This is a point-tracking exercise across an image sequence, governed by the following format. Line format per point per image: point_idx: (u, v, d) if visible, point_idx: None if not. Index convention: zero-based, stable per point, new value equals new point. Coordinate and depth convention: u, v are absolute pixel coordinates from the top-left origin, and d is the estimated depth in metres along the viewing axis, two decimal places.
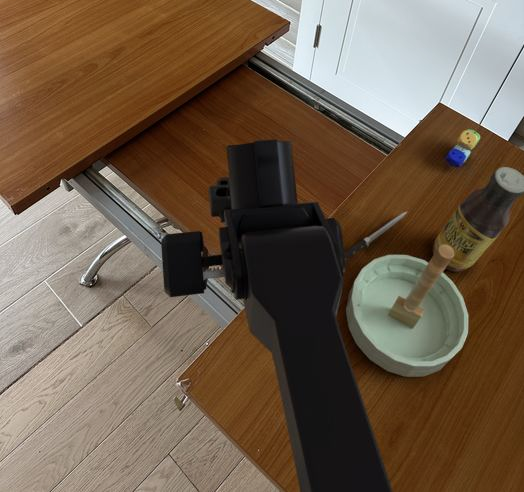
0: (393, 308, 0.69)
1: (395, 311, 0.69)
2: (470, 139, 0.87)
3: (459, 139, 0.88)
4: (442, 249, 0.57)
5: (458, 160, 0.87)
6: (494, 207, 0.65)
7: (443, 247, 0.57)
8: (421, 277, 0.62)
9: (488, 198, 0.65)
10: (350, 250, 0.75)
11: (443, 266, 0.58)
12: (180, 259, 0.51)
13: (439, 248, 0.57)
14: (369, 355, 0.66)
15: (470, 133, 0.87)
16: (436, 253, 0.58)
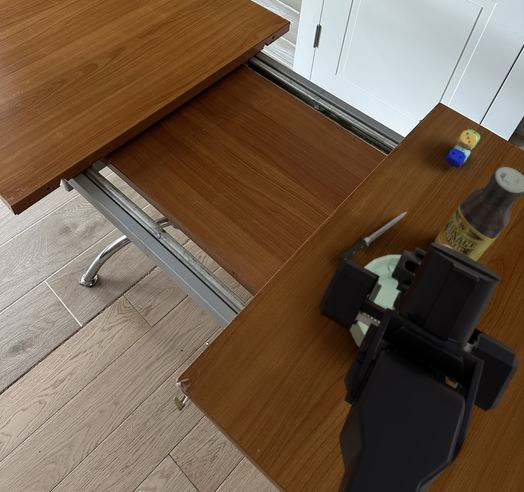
0: (393, 308, 0.69)
1: None
2: (470, 139, 0.87)
3: (459, 139, 0.88)
4: None
5: (458, 160, 0.87)
6: (494, 207, 0.65)
7: None
8: None
9: (488, 198, 0.65)
10: (350, 250, 0.75)
11: None
12: (344, 292, 0.52)
13: None
14: None
15: (470, 133, 0.87)
16: None
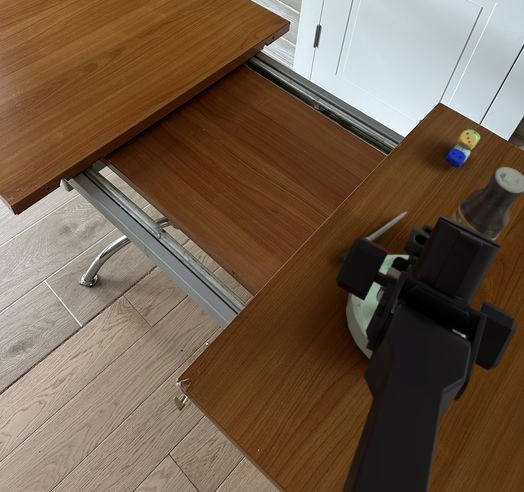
0: None
1: None
2: (470, 139, 0.87)
3: (459, 139, 0.88)
4: None
5: (458, 160, 0.87)
6: (494, 207, 0.65)
7: None
8: None
9: (488, 198, 0.65)
10: None
11: None
12: (360, 265, 0.58)
13: None
14: (369, 355, 0.66)
15: (470, 133, 0.87)
16: None
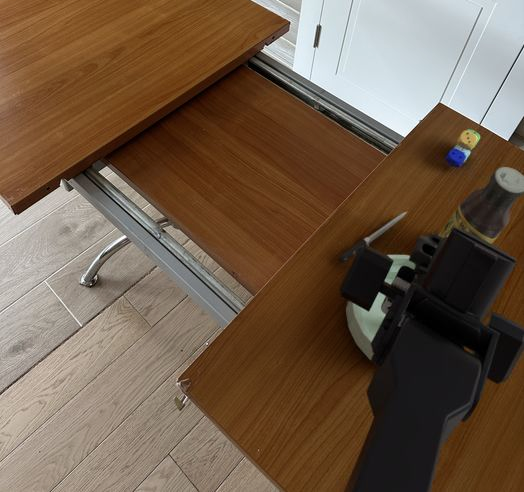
0: None
1: None
2: (470, 139, 0.87)
3: (459, 139, 0.88)
4: None
5: (458, 160, 0.87)
6: (494, 207, 0.65)
7: None
8: None
9: (488, 198, 0.65)
10: (350, 250, 0.75)
11: None
12: (364, 275, 0.56)
13: None
14: (369, 355, 0.66)
15: (470, 133, 0.87)
16: None
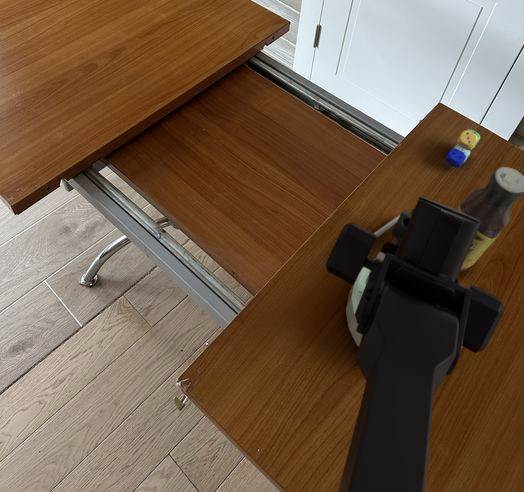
0: None
1: None
2: (470, 139, 0.87)
3: (459, 139, 0.88)
4: None
5: (458, 160, 0.87)
6: (494, 207, 0.65)
7: None
8: None
9: (488, 198, 0.65)
10: None
11: None
12: (349, 250, 0.58)
13: None
14: None
15: (470, 133, 0.87)
16: None
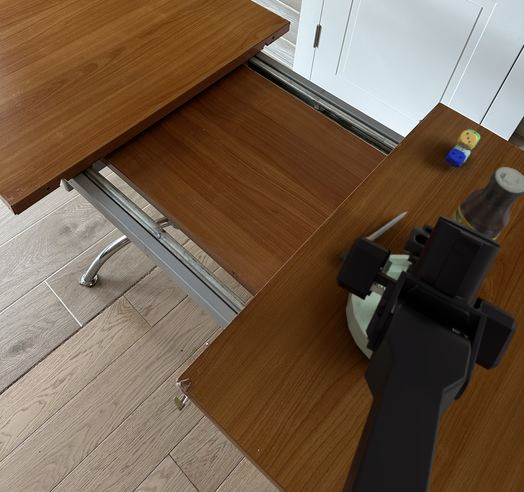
0: None
1: None
2: (470, 139, 0.87)
3: (459, 139, 0.88)
4: None
5: (458, 160, 0.87)
6: (494, 207, 0.65)
7: None
8: None
9: (488, 198, 0.65)
10: None
11: None
12: (360, 264, 0.58)
13: None
14: (369, 355, 0.66)
15: (470, 133, 0.87)
16: None
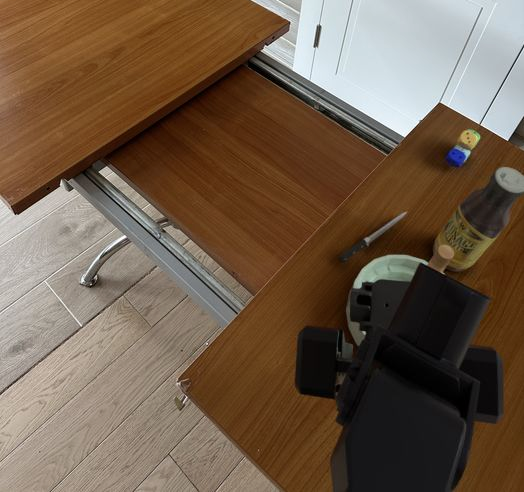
0: None
1: None
2: (470, 139, 0.87)
3: (459, 139, 0.88)
4: (442, 249, 0.57)
5: (458, 160, 0.87)
6: (494, 207, 0.65)
7: (443, 247, 0.57)
8: None
9: (488, 198, 0.65)
10: (350, 250, 0.75)
11: (443, 266, 0.58)
12: (314, 358, 0.49)
13: (439, 248, 0.57)
14: None
15: (470, 133, 0.87)
16: (436, 253, 0.57)
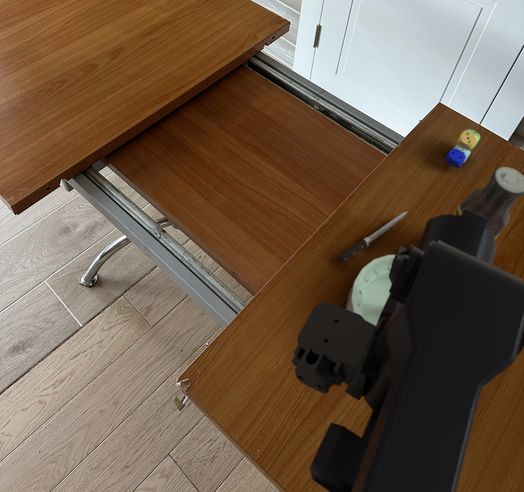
0: None
1: None
2: (470, 139, 0.87)
3: (459, 139, 0.88)
4: None
5: (458, 160, 0.87)
6: (494, 207, 0.65)
7: None
8: None
9: (488, 198, 0.65)
10: (350, 250, 0.75)
11: None
12: (352, 465, 0.39)
13: None
14: None
15: (470, 133, 0.87)
16: None
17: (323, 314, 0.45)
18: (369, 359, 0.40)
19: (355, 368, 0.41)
